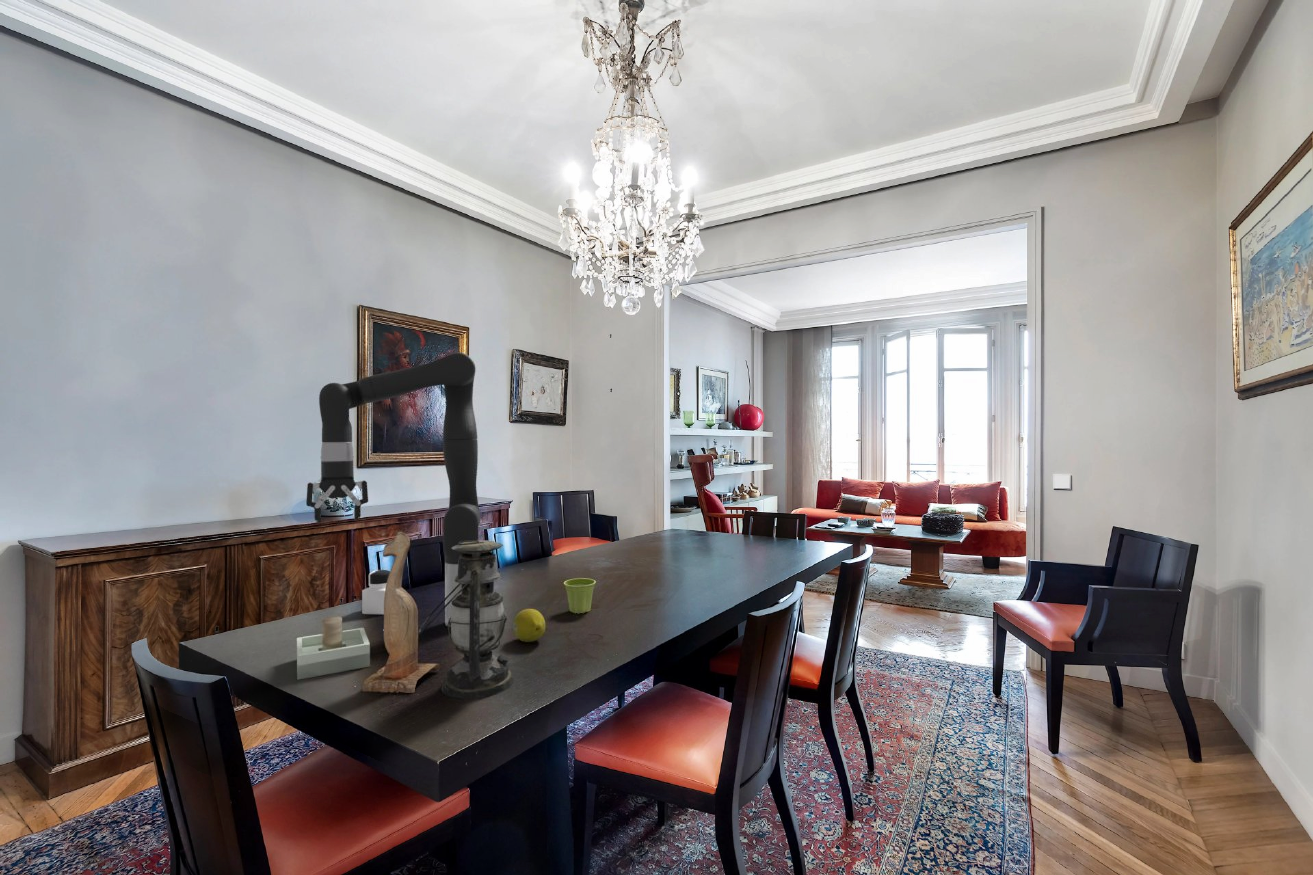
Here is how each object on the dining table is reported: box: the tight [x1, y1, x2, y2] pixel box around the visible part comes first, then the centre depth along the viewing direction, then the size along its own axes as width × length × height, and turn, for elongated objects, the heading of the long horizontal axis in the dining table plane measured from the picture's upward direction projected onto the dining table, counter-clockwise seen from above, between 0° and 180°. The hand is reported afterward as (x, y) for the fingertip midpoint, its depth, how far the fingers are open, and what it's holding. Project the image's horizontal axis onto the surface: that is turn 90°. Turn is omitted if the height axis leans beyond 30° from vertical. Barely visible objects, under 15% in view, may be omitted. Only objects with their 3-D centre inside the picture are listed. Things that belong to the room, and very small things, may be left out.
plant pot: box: [563, 577, 597, 614], centre depth 176 cm, size 9×9×9 cm
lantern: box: [418, 539, 515, 700], centre depth 123 cm, size 19×19×30 cm
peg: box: [321, 616, 343, 651], centre depth 135 cm, size 4×4×10 cm
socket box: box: [296, 627, 371, 680], centre depth 135 cm, size 14×14×5 cm
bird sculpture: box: [362, 531, 440, 694], centre depth 125 cm, size 11×12×32 cm
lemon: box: [512, 608, 546, 643], centre depth 149 cm, size 11×8×8 cm
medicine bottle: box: [361, 569, 391, 615], centre depth 177 cm, size 7×7×12 cm
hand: (338, 521), depth 155 cm, fingers open, 8 cm apart
